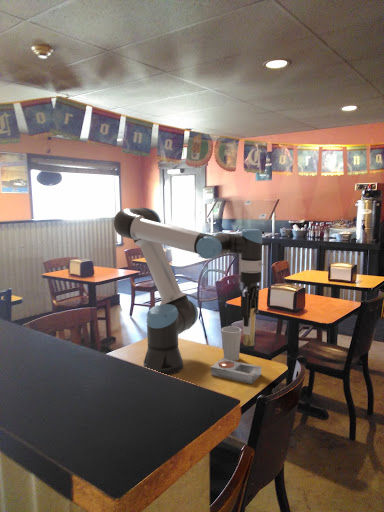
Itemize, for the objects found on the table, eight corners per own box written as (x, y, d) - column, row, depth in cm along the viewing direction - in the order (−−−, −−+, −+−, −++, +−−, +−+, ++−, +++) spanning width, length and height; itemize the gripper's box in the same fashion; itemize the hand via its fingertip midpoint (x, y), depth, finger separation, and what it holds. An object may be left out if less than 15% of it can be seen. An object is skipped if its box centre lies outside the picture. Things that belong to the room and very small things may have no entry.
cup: (240, 362, 155) (240, 333, 153) (220, 361, 156) (220, 332, 155) (242, 355, 162) (242, 326, 161) (222, 353, 164) (222, 326, 162)
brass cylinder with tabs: (238, 344, 148) (239, 308, 146) (242, 341, 151) (243, 305, 149) (254, 347, 145) (256, 310, 143) (258, 344, 148) (259, 308, 146)
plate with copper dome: (210, 374, 144) (210, 366, 144) (221, 365, 152) (221, 358, 151) (251, 384, 136) (252, 375, 136) (261, 374, 144) (261, 366, 143)
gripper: (251, 275, 135) (249, 341, 138) (268, 268, 150) (266, 327, 153) (231, 273, 139) (230, 337, 142) (250, 266, 153) (248, 324, 157)
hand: (249, 332), depth 147 cm, fingers closed on brass cylinder with tabs, 4 cm apart
